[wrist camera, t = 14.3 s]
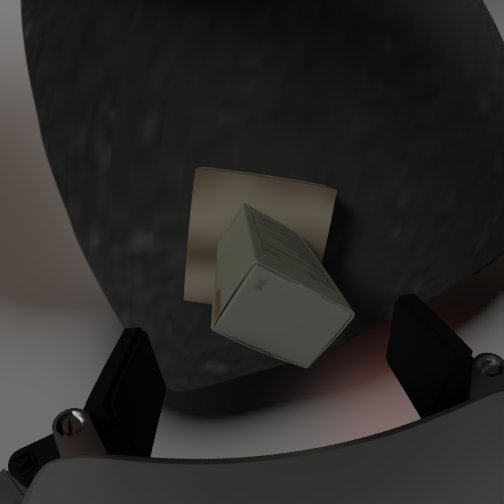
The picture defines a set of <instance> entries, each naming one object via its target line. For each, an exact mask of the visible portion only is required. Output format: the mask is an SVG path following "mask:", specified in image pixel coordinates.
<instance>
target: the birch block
mask: <svg viewBox="0 0 504 504" xmlns="http://www.w3.org/2000/svg"><path fill="white" fill-rule="evenodd" d="M336 192H337V190H336V189H333V188H330V187H327V186H325V185H321V184H315V183H310V182H304V181H299V180H293V179H287V178H281V177H274V176H268V175H261V174H254V173H247V172H240V171H232V170H224V169H216V168H207V167H200V168H196V170H195V178H194V187H193V195H192V205H191V214H190V224H189V235H188V247H187V260H186V274H185V289H184V300H186V301H193V302H201V303H208V304H213V293H214V282H215V271H216V260H217V249H218V242H219V240H220V238H221V237H222V235H223V233H224V231H225V229H226V228H227V226H228V224H229V223H230V221H231V220H232V218H233V217H234V215H235V213H236V212H237V210H238V209H239V207H240V206H241V204H242V203H245V204H247V205H249V206H251V207H253V208H255V209H257V210H259V211H260V212H262V213H264V214H266V215H268V216H269V217H271V218H273V219H274V220H276V221H278V222H280V223H281V224H283V225H285V226H286V227H288V228H289V229H291V230H293V231H294V232H296V233H297V234H299V235H300V236H302V238H303V239H304V240H305V242H306V243H307V245H308V246H309V247H310V249H311V250H312V252H313V253H314V254H315V256H316V257H317V259H318V260H319V262H320V263H321V264H322V260H323V256H324V251H325V247H326V242H327V237H328V233H329V228H330V223H331V218H332V213H333V208H334V203H335V197H336Z"/></svg>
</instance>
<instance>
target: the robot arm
mask: <svg viewBox="0 0 504 504" xmlns="http://www.w3.org/2000/svg"><path fill="white" fill-rule="evenodd" d="M472 352H473V351H472V350H471V349H470V348H469V347H468V346H467V345H466V344H465V343H464V341H463V340H462V339H461V338H460V337H458V335H457V334H456V333H455V332H454V331H453V330H452V329H451V328H450V327H449V326H447V324H446V323H444V322H443V321H442V320H441V319H440V318H439V317H438V316H437V315H436V314H435V313H434V312H433V311H432V310H431V309H430V308H429V307H428V306H427V305H426V304H425V303H424V302H423V301H421V300H420V299H419V298H418V297H417V296H416V295H415V294H408V295H403V296H400V297H399V299H398V300H397V301H396V302H395V305H394V312H393V319H392V326H391V332H390V338H389V344H388V349H387V354H386V359H387V363H388V365H389V366H390V368H391V370H392V371H393V373H394V374H395V376H396V378H397V379H398V381H399V382H400V384H401V386H402V387H403V389H404V391H405V392H406V394H407V395H408V397H409V399H410V400H411V402H412V404H413V406H414V407H415V409H416V411H417V412H418V414H419V416H420V418H421V419H420V420H417V421H414V422H412V423H409V424H406V425H403V426H400V427H397V428H394V429H391V430H388V431H384V432H381V433H378V434H374V435H371V436H367V437H363V438H359V439H355V440H351V441H347V442H343V443H339V444H334V445H329V446H324V447H319V448H314V449H308V450H303V451H296V452H289V453H282V454H273V455H265V456H254V457H242V458H223V459H174V458H152V457H151V452H152V447H153V443H154V439H155V434H156V430H157V425H158V421H159V417H160V413H161V409H162V405H163V401H164V397H165V392H166V386H165V382H164V379H163V377H162V374H161V372H160V369H159V366H158V363H157V361H156V358H155V355H154V352H153V349H152V346H151V343H150V341H149V338H148V335H147V332H146V331H142V329H141V328H140V327H139V328H125V330H124V331H123V333H122V335H121V337H120V338H119V340H118V342H117V344H116V346H115V347H114V349H113V351H112V353H111V355H110V357H109V359H108V360H107V363H106V364H105V366H104V368H103V370H102V372H101V374H100V376H99V378H98V380H97V382H96V384H95V386H94V388H93V390H92V392H91V394H90V396H89V398H88V400H87V402H86V405H85V407H84V409H83V410H82V409H79V408H71V409H67V410H65V411H63V412H61V413H60V414H59V415H58V416H57V417H56V418H55V419H54V421H53V424H52V430H53V434H51V435H49V436H47V437H45V438H43V439H40V440H38V441H36V442H34V443H32V444H30V445H28V446H26V447H24V448H21V449H19V450H17V451H16V452H14V453H13V454H12V456H11V457H10V459H9V463H8V469H9V470H8V471H6V470H5V469H3V470H2V471H1V472H0V504H504V360H503V359H502V358H501V357H500V356H498V355H496V354H492V353H481V354H479V355H477V356H476V357H475V358H473V357H472V356H471V355H472Z"/></svg>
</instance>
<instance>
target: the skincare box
mask: <svg viewBox="0 0 504 504" xmlns="http://www.w3.org/2000/svg"><path fill="white" fill-rule="evenodd" d="M353 318H354V312H353V310H352V308H351V307H350V305H349V304H348V302H347V301H346V300H345V298H344V297H343V295H342V294H341V292H340V291H339V289H338V288H337V286H336V285H335V283H334V282H333V280H332V279H331V277H330V276H329V275H328V273H327V272H326V270H325V269H324V267H323V266H322V264H321V263H320V262H319V260H318V259H317V257H316V256H315V254H314V253H313V252H312V250H311V249H310V247H309V246H308V245H307V243H306V242H305V240H304V239H303V238H302V236H300V235H299V234H297V233H296V232H294V231H293V230H291V229H289V228H288V227H286V226H285V225H283V224H281V223H280V222H278V221H276V220H274V219H273V218H271V217H269V216H268V215H266V214H264V213H262V212H260V211H259V210H257V209H255V208H253V207H251V206H249V205H247V204H245V203H242V204H241V206H240V207H239V209H238V210H237V212H236V213H235V215H234V217H233V218H232V220H231V221H230V223H229V224H228V226H227V228H226V229H225V231H224V233H223V235H222V237H221V238H220V240H219V242H218V249H217V260H216V271H215V282H214V293H213V307H212V322H211V328H212V330H213V331H215V332H217V333H219V334H221V335H223V336H225V337H227V338H229V339H231V340H234V341H236V342H238V343H240V344H242V345H245V346H247V347H250V348H252V349H255V350H257V351H259V352H262V353H265V354H267V355H270V356H272V357H275V358H278V359H280V360H283V361H286V362H289V363H292V364H295V365H298V366H301V367H304V368H308V367H309V366H310V365H311V364H312V363H313V362H314V361H315V360H316V359H317V358H318V357H319V356H320V355H321V354H322V352H323V351H324V350H325V349H326V348H327V347H328V346H329V345H330V344H331V343H332V342H333V341H334V339H335V338H336V337H337V336H338V335H339V334H340V333H341V332H342V331H343V329H344V328H345V327H346V326H347V325H348V324H349V322H350V321H351V320H352V319H353Z"/></svg>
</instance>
